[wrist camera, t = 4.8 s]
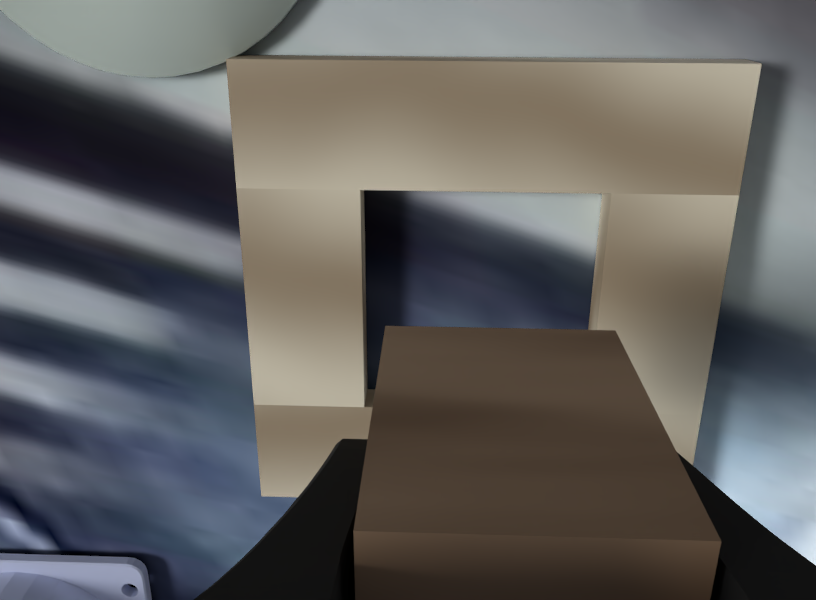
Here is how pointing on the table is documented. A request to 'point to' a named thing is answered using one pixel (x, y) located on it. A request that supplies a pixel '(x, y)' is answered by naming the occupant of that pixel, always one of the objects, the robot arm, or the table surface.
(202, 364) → the table surface
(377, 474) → the walnut block
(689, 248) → the pocket block
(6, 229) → the table surface
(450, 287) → the table surface
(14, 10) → the disc
